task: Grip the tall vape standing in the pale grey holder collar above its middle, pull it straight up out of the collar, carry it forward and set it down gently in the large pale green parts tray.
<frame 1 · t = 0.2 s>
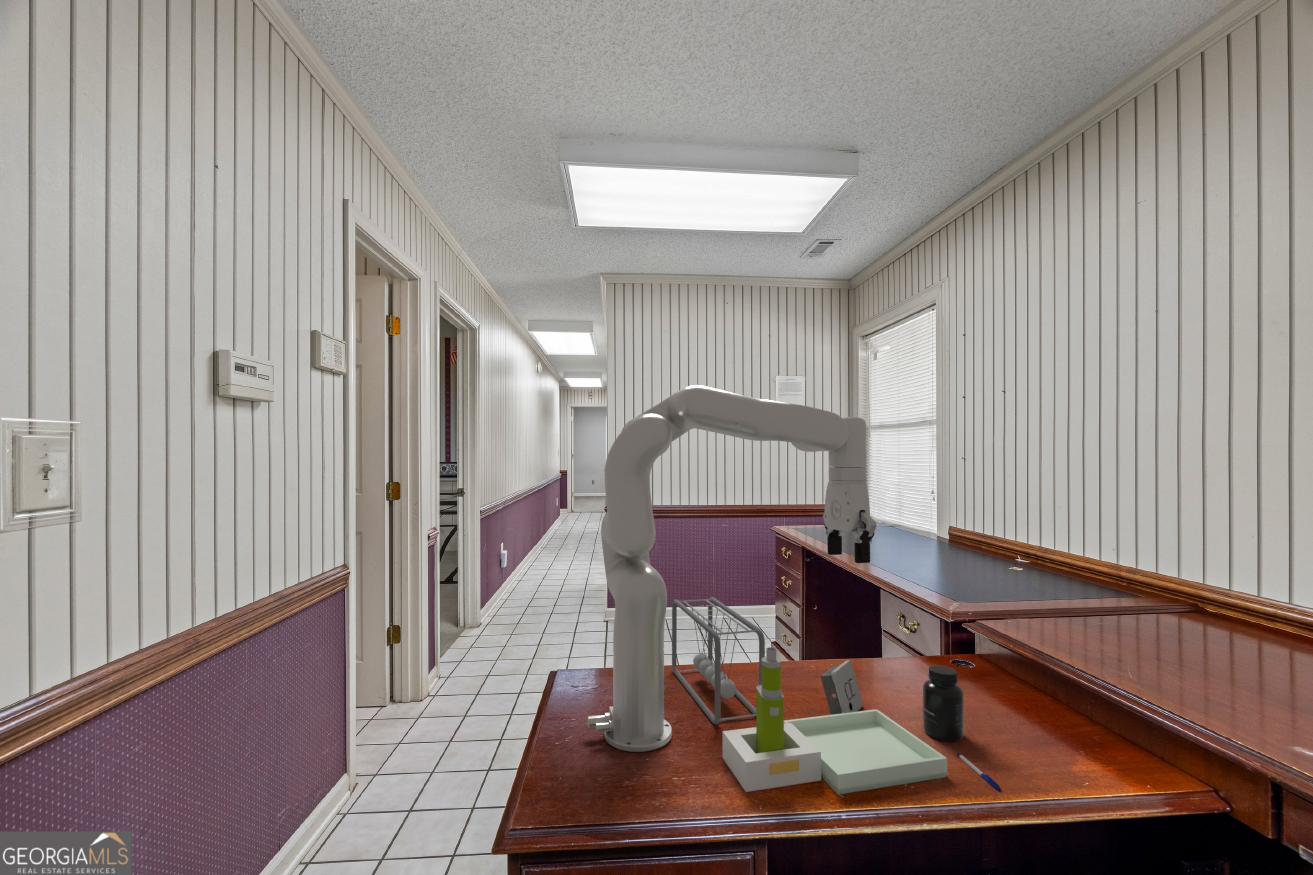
hand: (848, 558, 114), 31 cm above the table, tool pointing down, fingers open, 9 cm apart
supplement bottle: (943, 735, 103), on the table
ballpoint pen: (977, 774, 90), on the table
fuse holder: (770, 768, 91), on the table
newton's cradle: (713, 694, 120), on the table
parts tray: (859, 755, 95), on the table
vape: (770, 769, 91), on the table
electrical switch: (842, 711, 112), on the table
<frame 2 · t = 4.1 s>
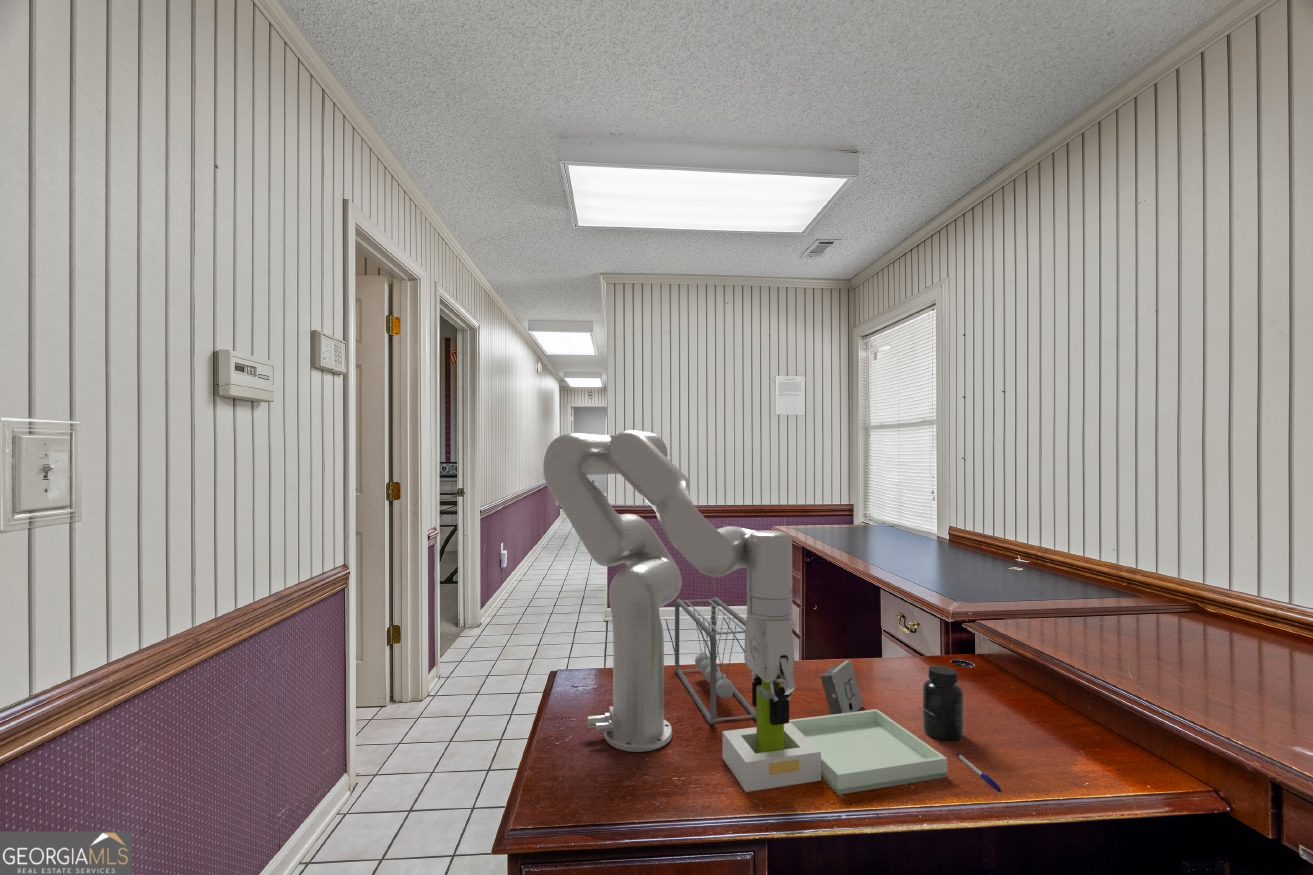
hand: (770, 712, 91), 9 cm above the table, tool pointing down, fingers closed on vape, 6 cm apart
vape: (770, 769, 91), on the table, touching gripper
everything else where it was.
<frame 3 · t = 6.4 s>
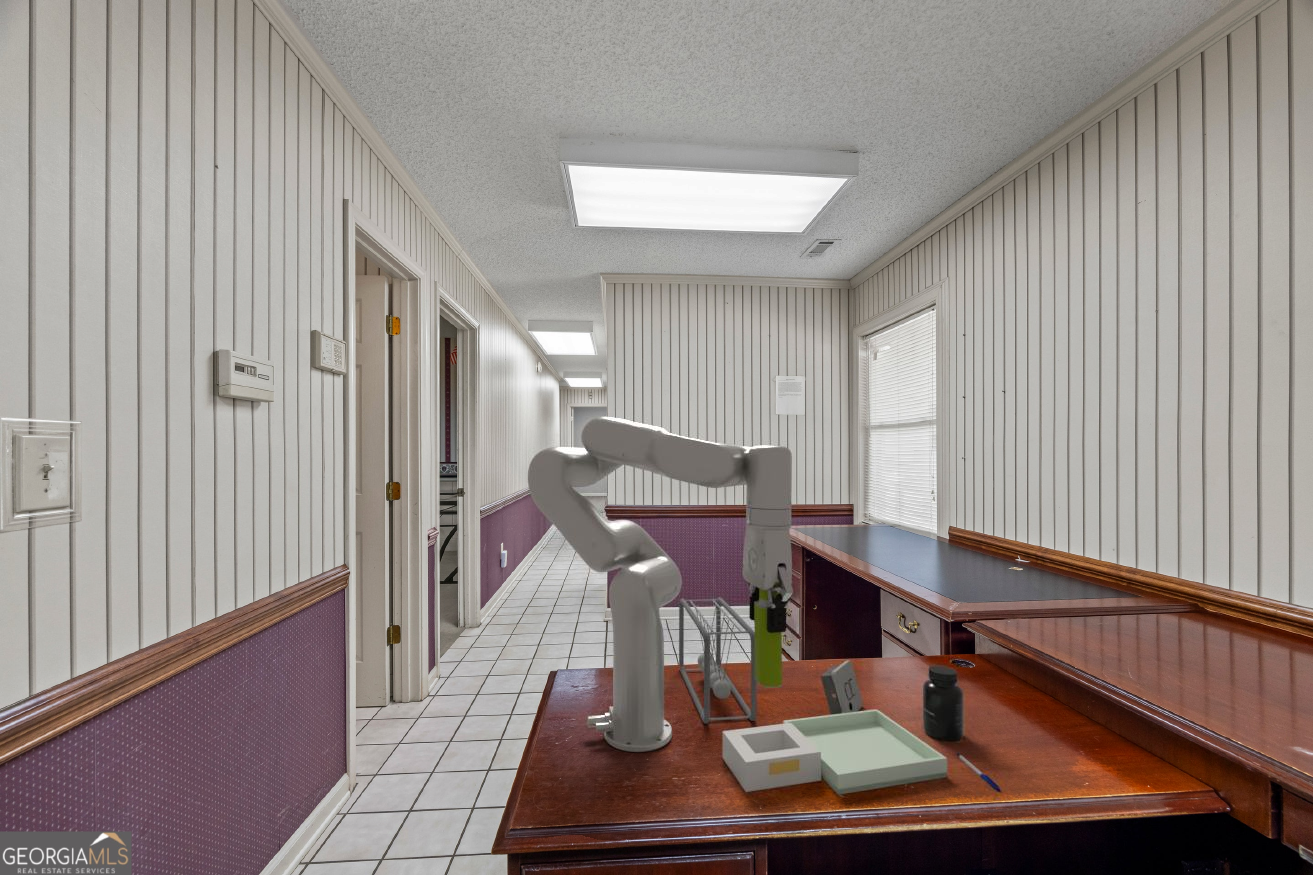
hand: (767, 624, 92), 24 cm above the table, tool pointing down, fingers closed on vape, 6 cm apart
vape: (768, 682, 91), point 14 cm above the table, touching gripper
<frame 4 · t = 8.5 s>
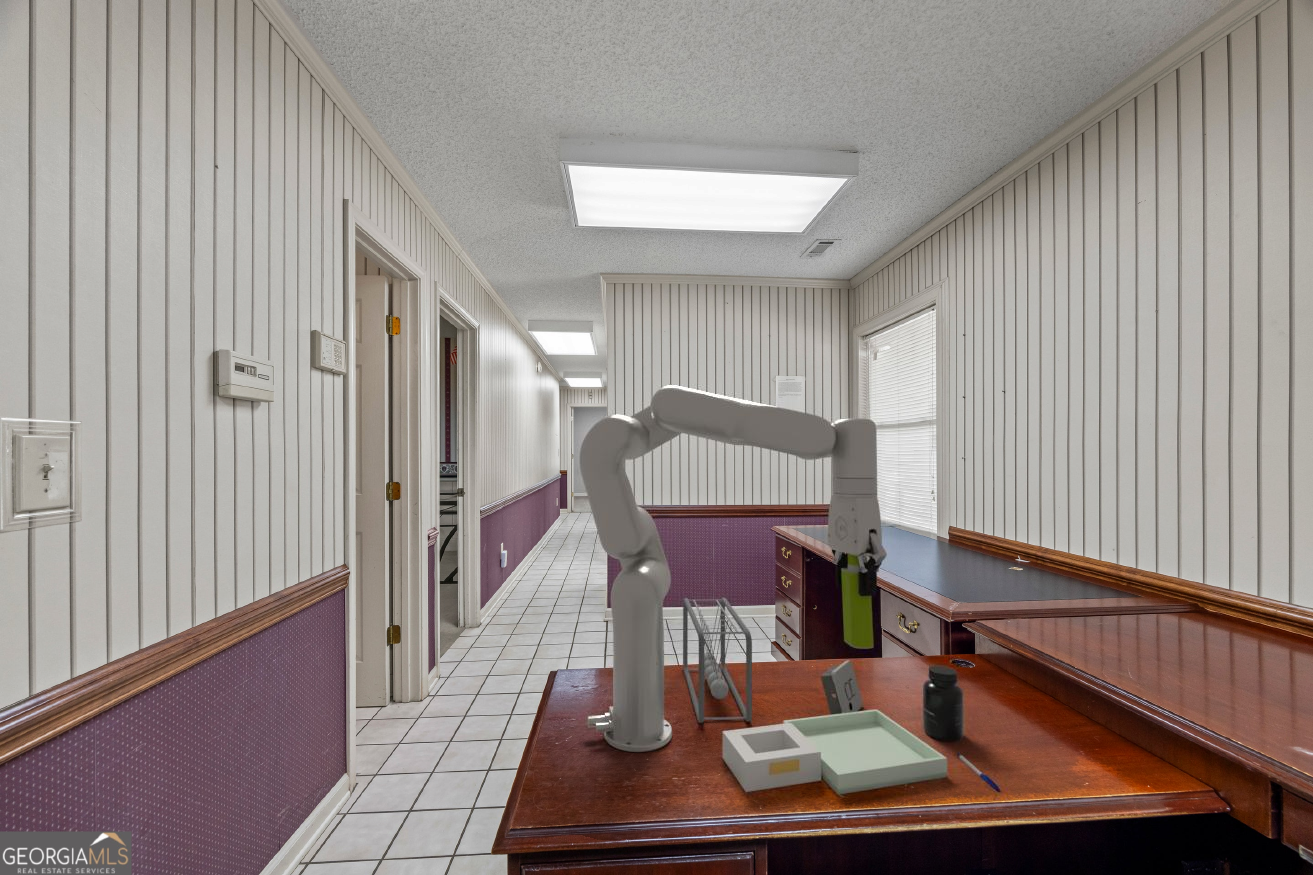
hand: (855, 589, 96), 29 cm above the table, tool pointing down, fingers closed on vape, 6 cm apart
vape: (858, 644, 95), point 19 cm above the table, touching gripper
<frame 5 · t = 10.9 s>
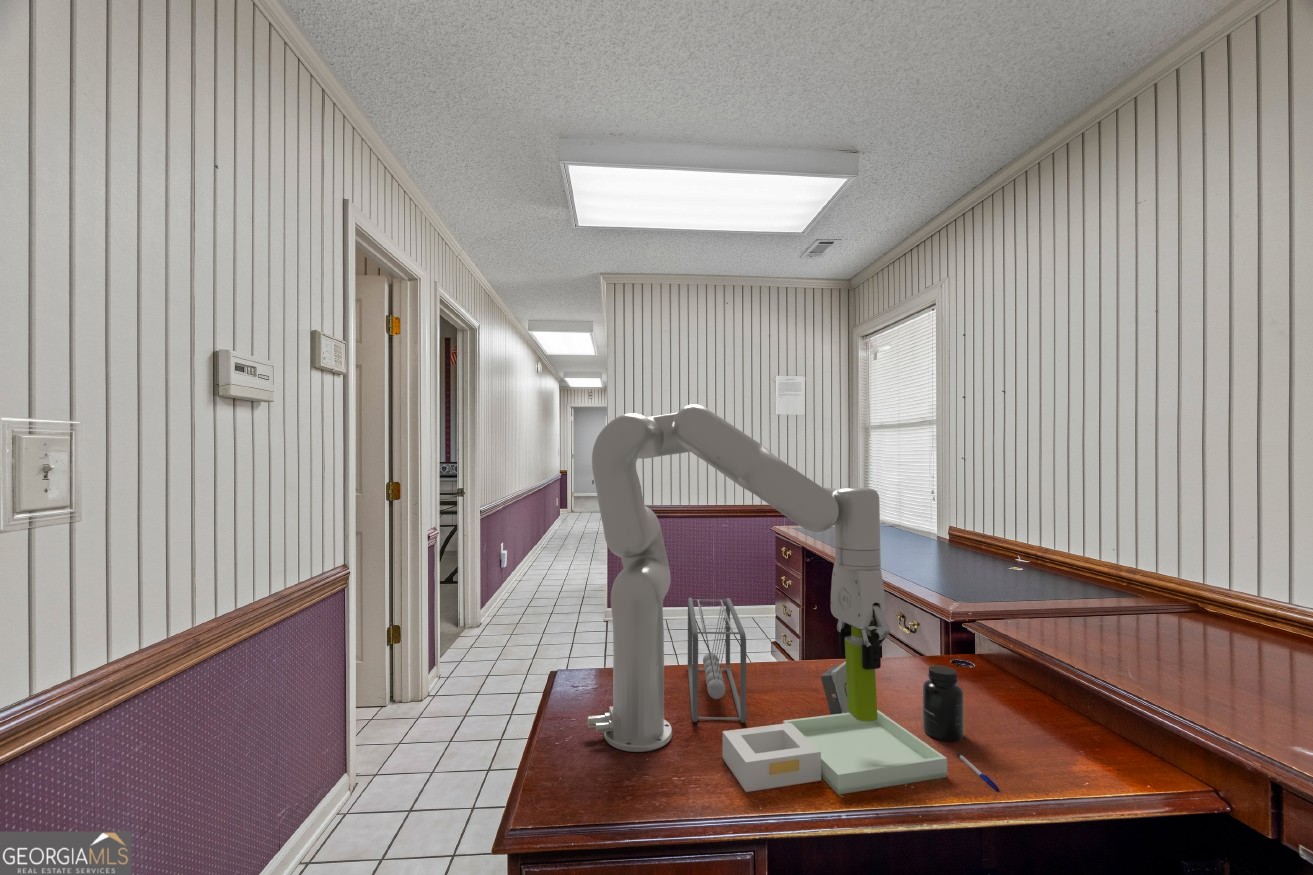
hand: (859, 660, 96), 16 cm above the table, tool pointing down, fingers closed on vape, 6 cm apart
vape: (862, 716, 95), point 7 cm above the table, touching gripper
when the fingers open (10 cm above the table, at t = 13.0 s): vape stays where it is, resting on parts tray.
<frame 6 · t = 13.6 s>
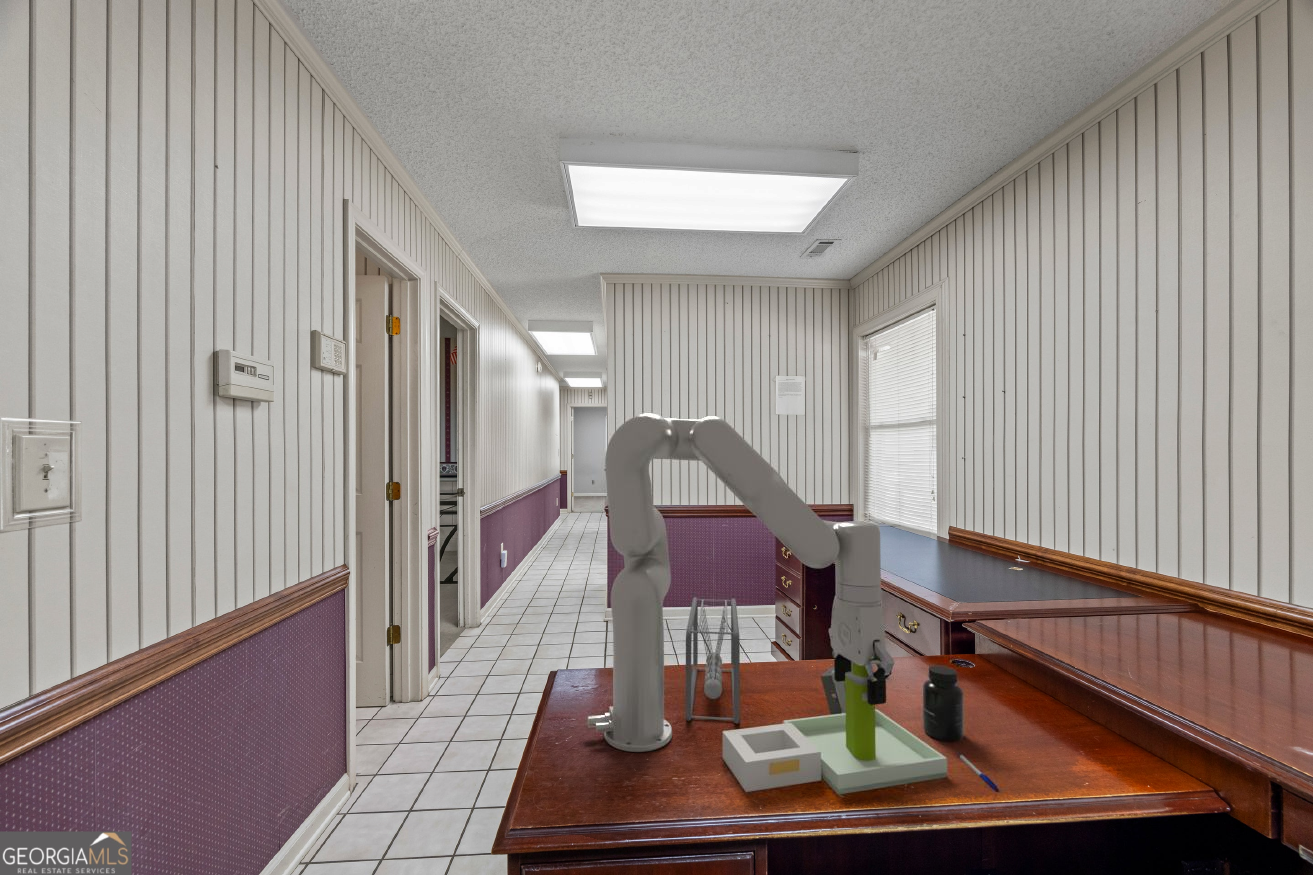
hand: (859, 691, 96), 11 cm above the table, tool pointing down, fingers open, 9 cm apart
vape: (860, 753, 95), point 1 cm above the table, touching parts tray
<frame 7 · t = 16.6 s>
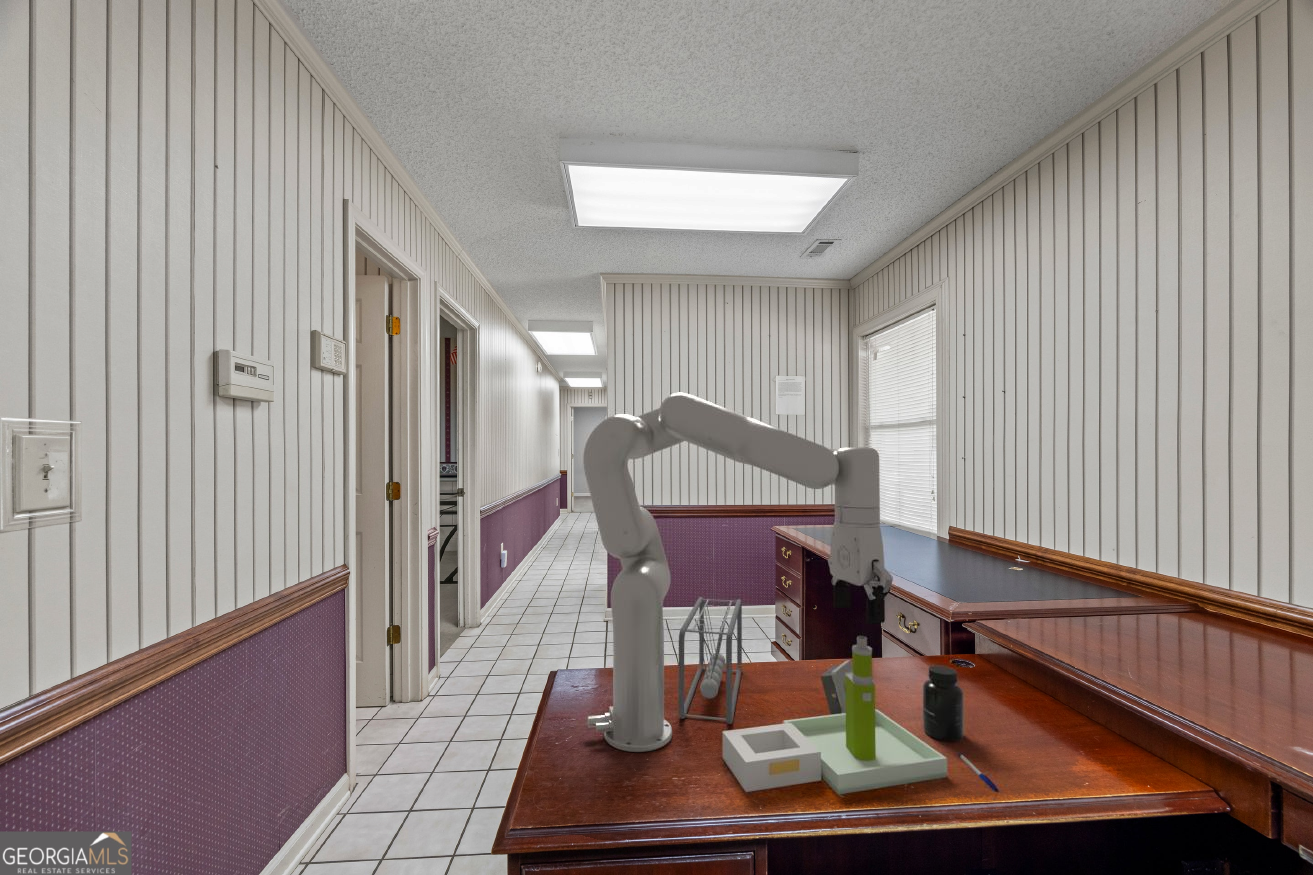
hand: (857, 614, 96), 24 cm above the table, tool pointing down, fingers open, 9 cm apart
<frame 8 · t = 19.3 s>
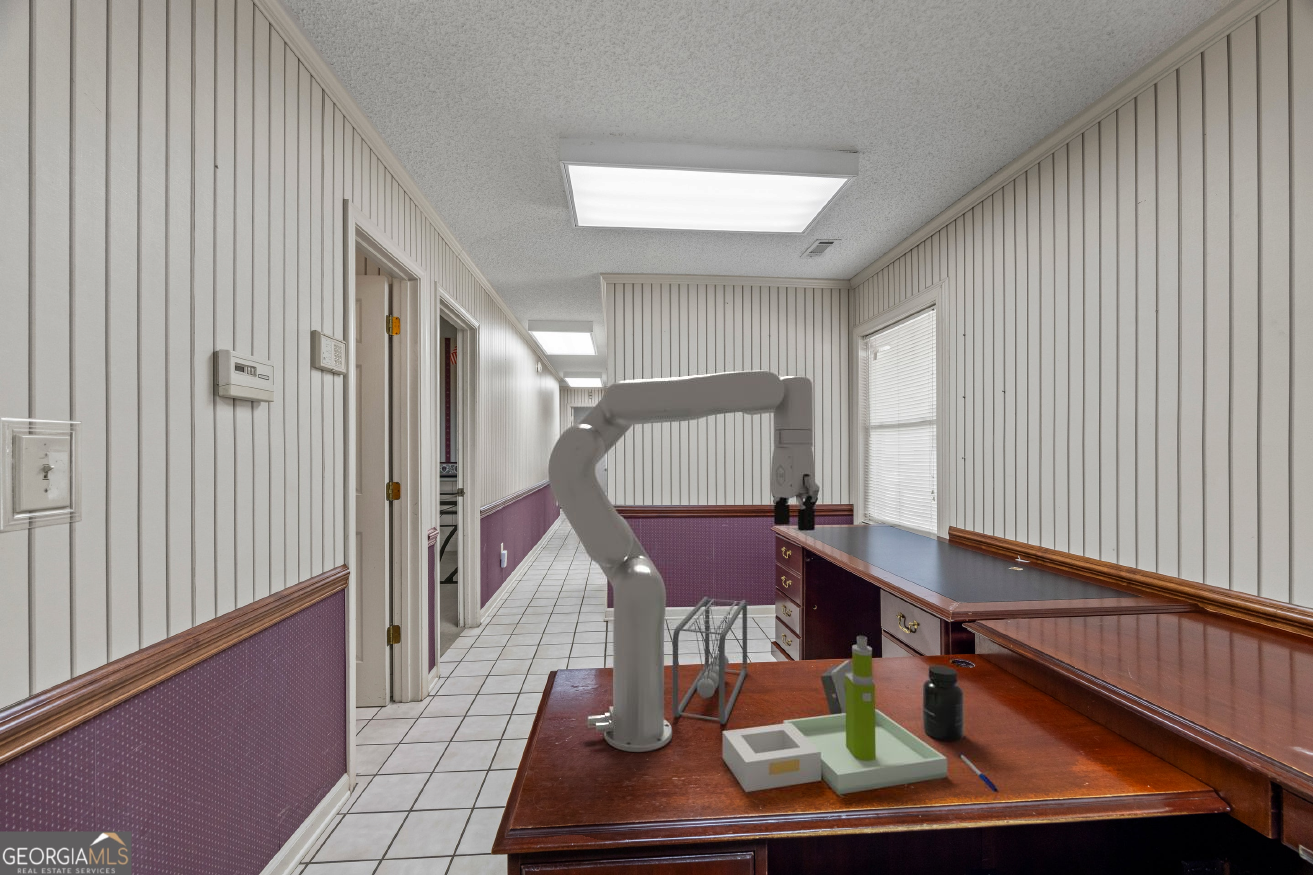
hand: (793, 527, 107), 38 cm above the table, tool pointing down, fingers open, 9 cm apart
at the end: vape inside the target area on the parts tray (0.4 cm from its centre), point 0.6 cm above the parts tray's base; vape moved 16.9 cm from its start; the gripper is holding nothing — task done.
